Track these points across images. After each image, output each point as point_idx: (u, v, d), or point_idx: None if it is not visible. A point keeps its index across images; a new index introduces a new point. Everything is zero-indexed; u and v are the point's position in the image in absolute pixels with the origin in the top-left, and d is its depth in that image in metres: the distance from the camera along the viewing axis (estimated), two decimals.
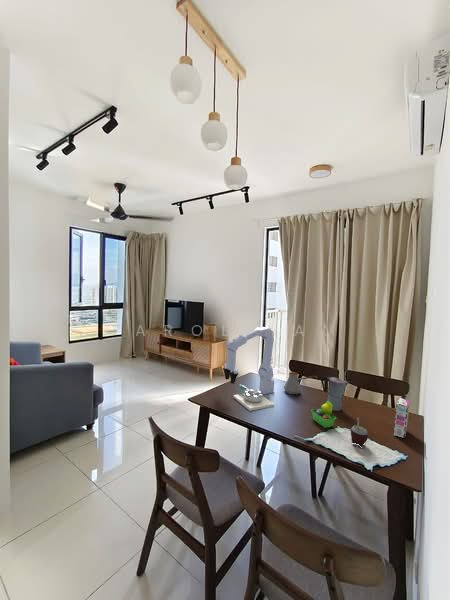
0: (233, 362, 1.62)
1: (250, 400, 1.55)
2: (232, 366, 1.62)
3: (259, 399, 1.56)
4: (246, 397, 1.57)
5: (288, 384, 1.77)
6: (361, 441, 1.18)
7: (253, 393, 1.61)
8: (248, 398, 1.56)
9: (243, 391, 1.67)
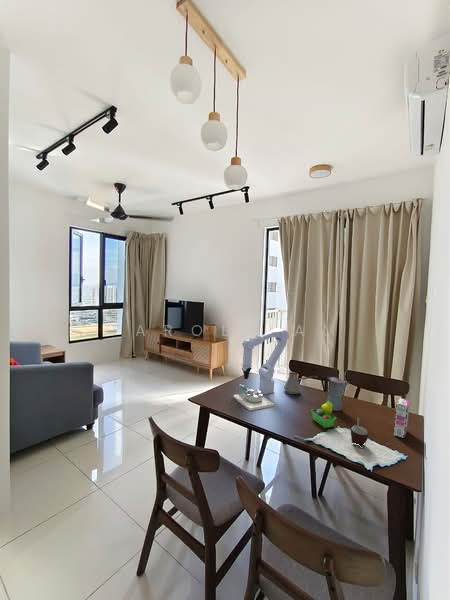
0: (246, 360, 1.69)
1: (250, 400, 1.55)
2: (245, 364, 1.69)
3: (259, 399, 1.56)
4: (246, 397, 1.57)
5: (288, 384, 1.77)
6: (361, 441, 1.18)
7: (253, 393, 1.61)
8: (248, 398, 1.56)
9: (243, 391, 1.67)
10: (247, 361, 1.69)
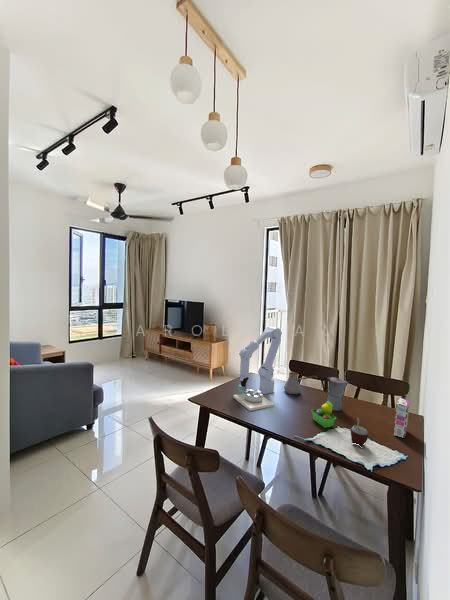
0: (243, 370, 1.67)
1: (250, 400, 1.55)
2: (242, 373, 1.67)
3: (259, 399, 1.56)
4: (246, 397, 1.57)
5: (288, 384, 1.77)
6: (361, 441, 1.18)
7: (253, 393, 1.61)
8: (248, 398, 1.56)
9: (243, 391, 1.67)
10: (244, 371, 1.67)
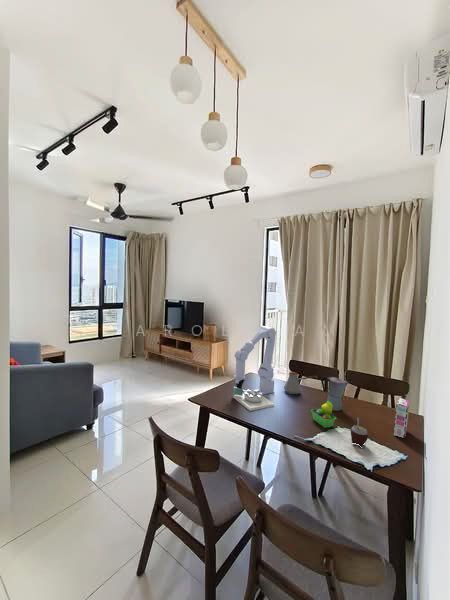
0: (239, 372, 1.62)
1: (255, 401, 1.55)
2: (238, 376, 1.62)
3: None
4: (250, 399, 1.56)
5: (288, 384, 1.77)
6: (361, 441, 1.18)
7: (253, 393, 1.61)
8: (253, 399, 1.55)
9: (239, 393, 1.63)
10: (240, 373, 1.62)
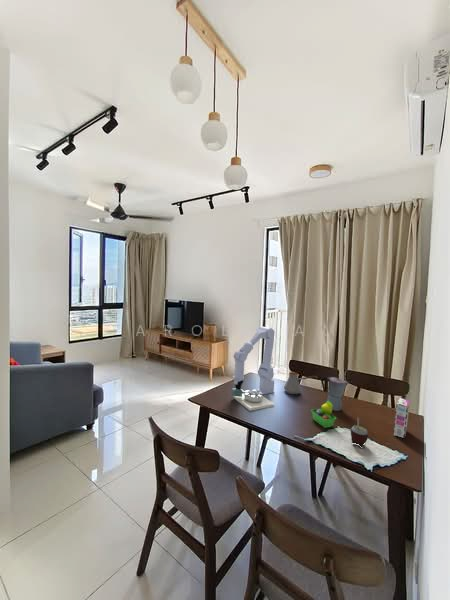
0: (238, 373, 1.60)
1: (257, 401, 1.55)
2: (237, 377, 1.60)
3: (262, 397, 1.59)
4: (252, 399, 1.55)
5: (288, 384, 1.77)
6: (361, 441, 1.18)
7: (253, 393, 1.61)
8: (254, 399, 1.55)
9: (239, 394, 1.62)
10: (239, 374, 1.60)
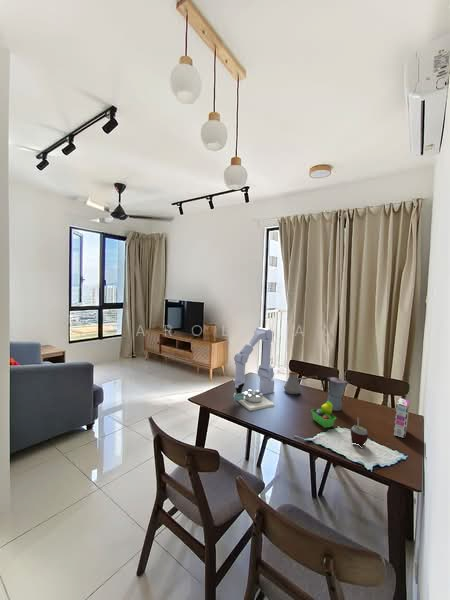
0: (239, 376, 1.55)
1: (261, 399, 1.57)
2: (238, 380, 1.55)
3: None
4: (257, 399, 1.55)
5: (288, 384, 1.77)
6: (361, 441, 1.18)
7: (253, 393, 1.60)
8: (259, 399, 1.56)
9: (241, 398, 1.56)
10: (239, 377, 1.55)
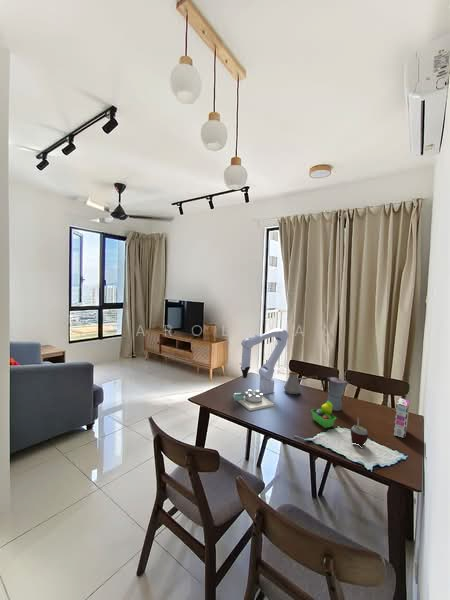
0: (245, 359, 1.69)
1: (261, 399, 1.57)
2: (244, 363, 1.69)
3: None
4: (257, 399, 1.55)
5: (288, 384, 1.77)
6: (361, 441, 1.18)
7: (253, 393, 1.60)
8: (259, 399, 1.56)
9: (241, 398, 1.56)
10: (246, 360, 1.69)
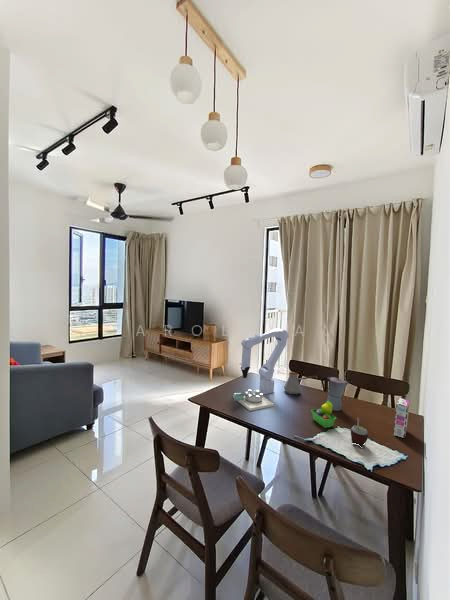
0: (245, 359, 1.69)
1: (261, 399, 1.57)
2: (244, 363, 1.69)
3: None
4: (257, 399, 1.55)
5: (288, 384, 1.77)
6: (361, 441, 1.18)
7: (253, 393, 1.60)
8: (259, 399, 1.56)
9: (241, 398, 1.56)
10: (246, 360, 1.69)
